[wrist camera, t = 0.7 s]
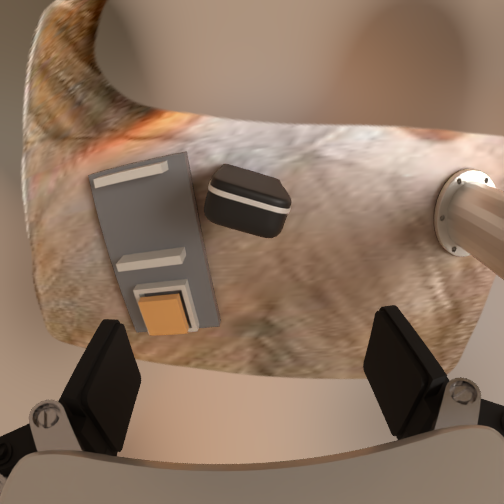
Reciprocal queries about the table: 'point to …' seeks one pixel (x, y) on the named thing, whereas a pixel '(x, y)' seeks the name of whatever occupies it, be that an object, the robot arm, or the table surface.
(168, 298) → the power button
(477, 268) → the table surface
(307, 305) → the table surface
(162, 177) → the charging dock
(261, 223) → the battery charger
